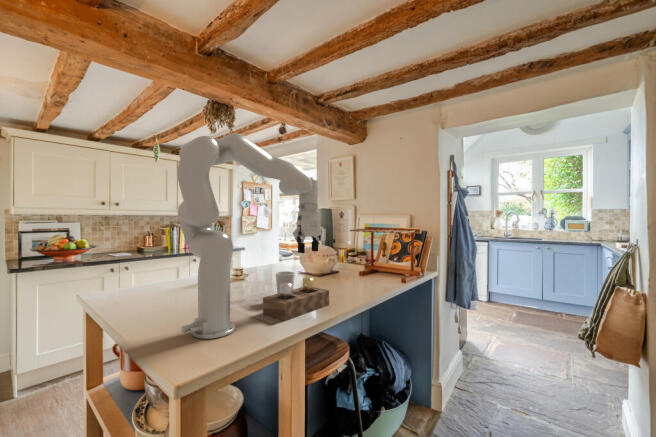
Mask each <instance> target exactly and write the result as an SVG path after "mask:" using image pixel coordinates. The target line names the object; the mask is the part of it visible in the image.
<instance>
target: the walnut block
mask: <svg viewBox="0 0 656 437" xmlns="http://www.w3.org/2000/svg"><path fill="white" fill-rule="evenodd" d="M329 305H330V289H326V288H320V287H316V286H315V287H314V292H312V293H309V294H308V293H304V292H303V286H301V287H298V288H293V290H292V299H288V300H283V299H280V293H278V294H277V293H276V294H270V295H268V296H264V297H262V314H263V315H265V314H266V316H268V315H269V316H268V317H271V316H272V318H274V317H275V318H274V319H277V318H278V319H277V320H280V319H281V320H280V321H283V322H287V321H289V320H292V319H295V318H297V317H300V316H303V315H306V314H309V313H312V312H314V311H316V310H319V309H322V308H324V307H327V306H329Z"/></svg>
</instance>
